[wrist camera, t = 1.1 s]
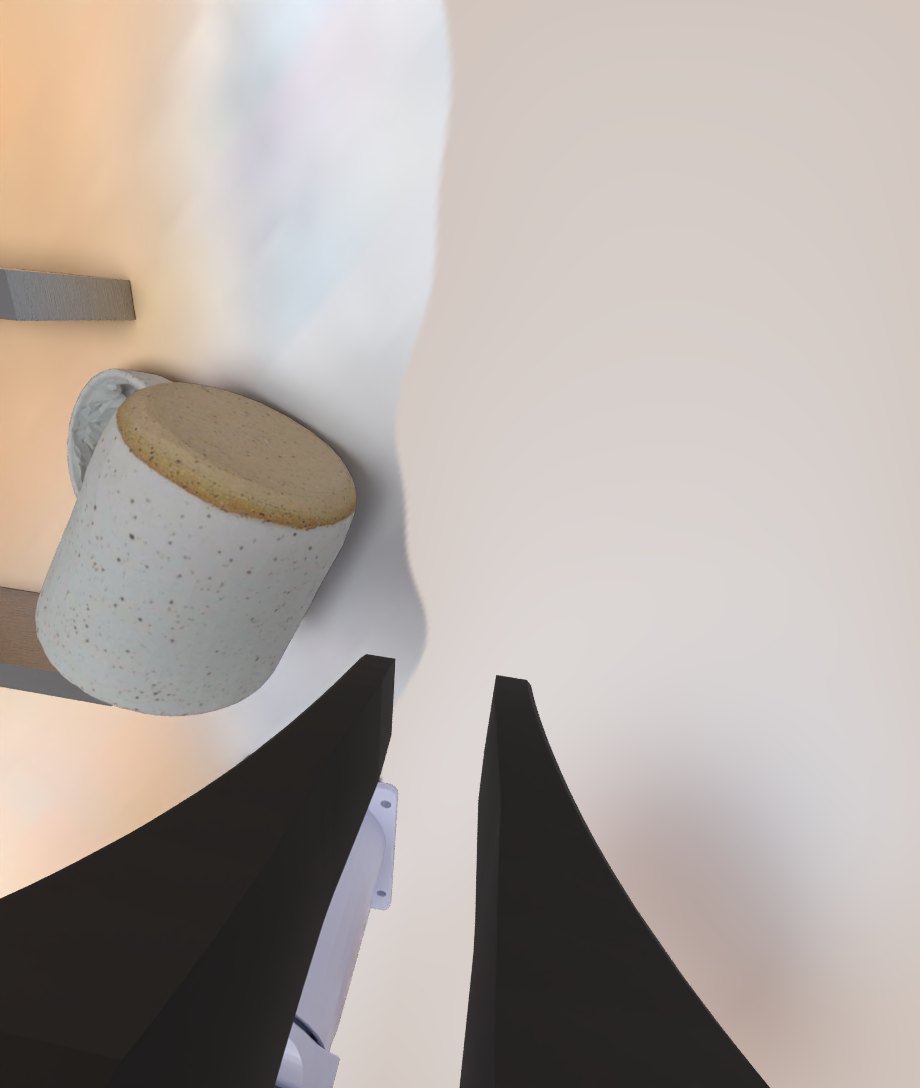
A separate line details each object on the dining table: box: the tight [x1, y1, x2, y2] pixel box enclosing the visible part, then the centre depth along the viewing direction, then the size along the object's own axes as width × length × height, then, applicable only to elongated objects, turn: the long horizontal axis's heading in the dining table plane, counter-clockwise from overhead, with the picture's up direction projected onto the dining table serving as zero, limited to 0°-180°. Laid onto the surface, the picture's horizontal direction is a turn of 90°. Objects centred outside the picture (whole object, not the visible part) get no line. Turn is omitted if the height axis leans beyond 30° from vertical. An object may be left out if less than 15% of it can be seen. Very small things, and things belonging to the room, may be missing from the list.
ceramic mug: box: [35, 369, 357, 716], centre depth 16 cm, size 11×8×8 cm
